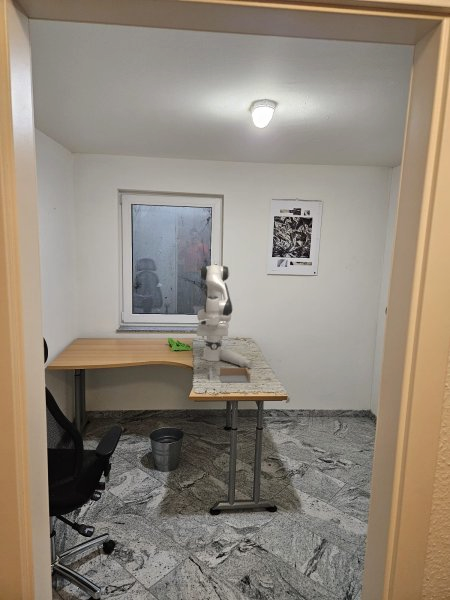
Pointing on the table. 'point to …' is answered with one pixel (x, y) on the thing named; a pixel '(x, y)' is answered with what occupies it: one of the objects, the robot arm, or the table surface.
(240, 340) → the table surface
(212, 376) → the bracket
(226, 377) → the tray
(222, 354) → the bottle
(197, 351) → the table surface
